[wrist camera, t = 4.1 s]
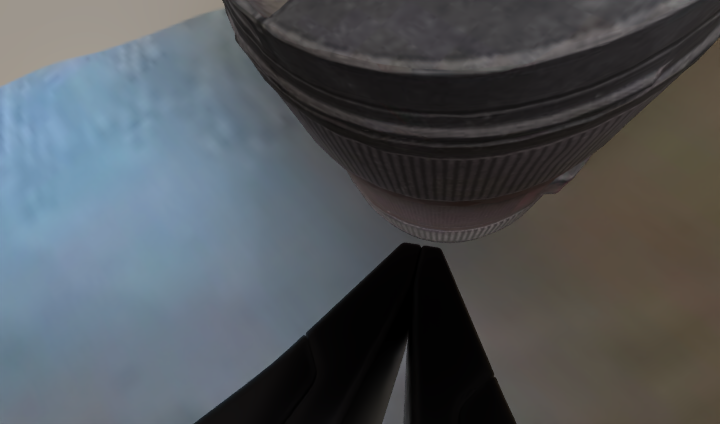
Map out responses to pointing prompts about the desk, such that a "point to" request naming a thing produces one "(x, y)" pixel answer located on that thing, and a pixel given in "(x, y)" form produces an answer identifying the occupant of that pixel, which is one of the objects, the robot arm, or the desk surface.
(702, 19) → the camera lens
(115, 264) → the desk surface
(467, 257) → the desk surface
